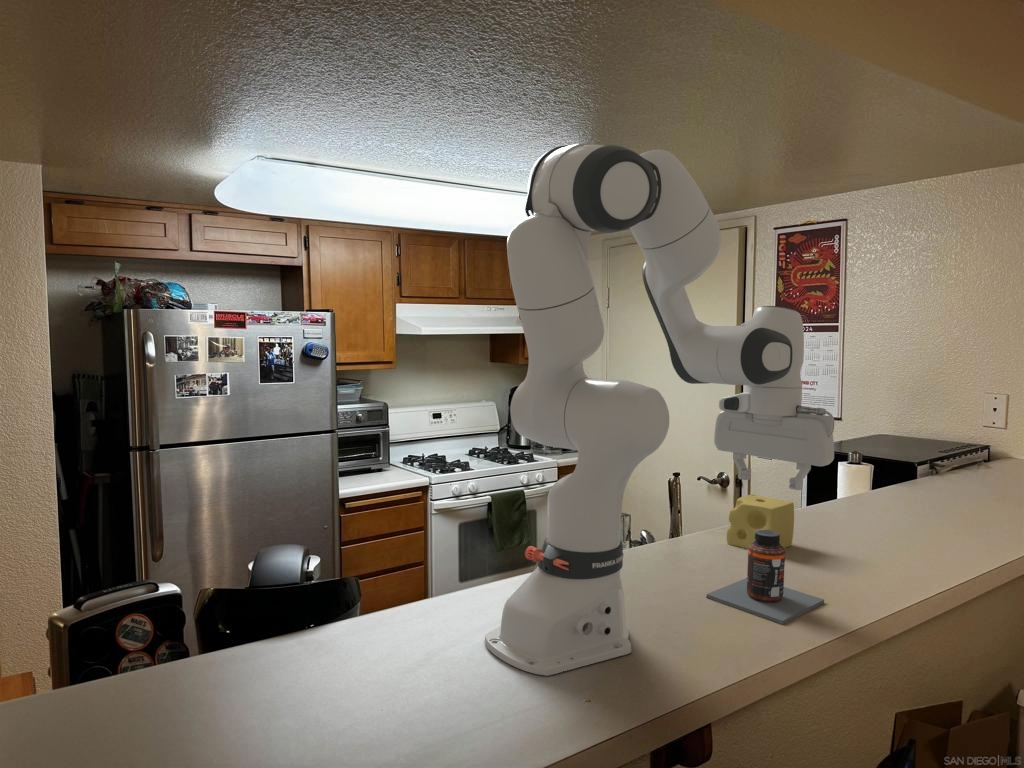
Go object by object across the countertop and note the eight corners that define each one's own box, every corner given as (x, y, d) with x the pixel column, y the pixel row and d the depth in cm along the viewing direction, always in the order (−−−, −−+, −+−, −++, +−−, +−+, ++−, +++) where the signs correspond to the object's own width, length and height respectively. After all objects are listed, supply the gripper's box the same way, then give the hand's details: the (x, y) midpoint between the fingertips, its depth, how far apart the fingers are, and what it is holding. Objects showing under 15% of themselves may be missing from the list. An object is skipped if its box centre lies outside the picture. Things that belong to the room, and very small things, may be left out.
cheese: (725, 544, 149) (727, 499, 149) (751, 535, 156) (753, 492, 156) (770, 556, 142) (772, 509, 141) (795, 546, 149) (797, 501, 148)
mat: (782, 624, 108) (782, 620, 108) (706, 597, 119) (706, 594, 119) (824, 602, 117) (824, 599, 117) (750, 579, 128) (750, 576, 128)
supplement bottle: (786, 605, 114) (789, 538, 114) (749, 601, 116) (751, 536, 115) (779, 591, 120) (782, 528, 119) (744, 588, 122) (746, 526, 121)
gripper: (843, 408, 110) (839, 493, 111) (730, 397, 125) (727, 472, 126) (825, 410, 105) (820, 498, 106) (710, 399, 121) (707, 476, 122)
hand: (769, 484), depth 116 cm, fingers open, 8 cm apart
